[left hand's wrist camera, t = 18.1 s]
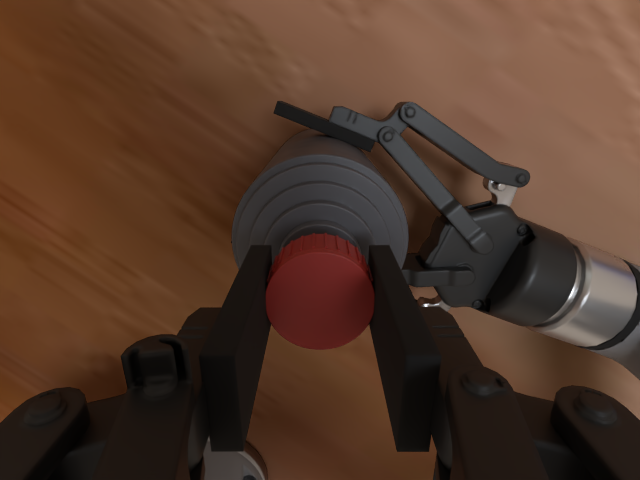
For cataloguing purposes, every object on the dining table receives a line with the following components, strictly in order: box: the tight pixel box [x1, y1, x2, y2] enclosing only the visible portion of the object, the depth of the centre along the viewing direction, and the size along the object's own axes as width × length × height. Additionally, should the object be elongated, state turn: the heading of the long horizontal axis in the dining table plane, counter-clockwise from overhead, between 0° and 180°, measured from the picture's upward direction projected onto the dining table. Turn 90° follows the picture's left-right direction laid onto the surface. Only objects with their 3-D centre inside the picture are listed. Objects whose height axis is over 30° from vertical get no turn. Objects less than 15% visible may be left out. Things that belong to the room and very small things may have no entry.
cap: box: [266, 233, 375, 350], centre depth 14 cm, size 4×4×2 cm
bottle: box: [232, 129, 409, 269], centre depth 23 cm, size 8×8×21 cm
